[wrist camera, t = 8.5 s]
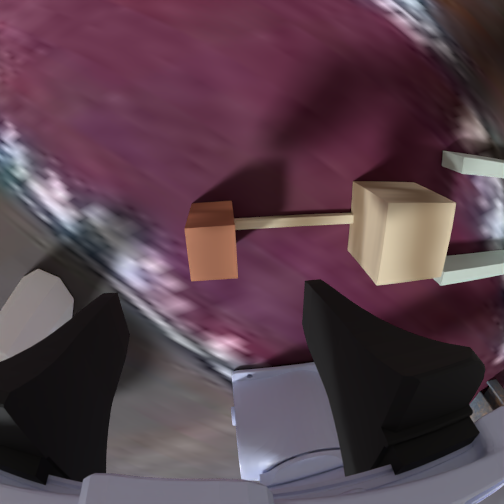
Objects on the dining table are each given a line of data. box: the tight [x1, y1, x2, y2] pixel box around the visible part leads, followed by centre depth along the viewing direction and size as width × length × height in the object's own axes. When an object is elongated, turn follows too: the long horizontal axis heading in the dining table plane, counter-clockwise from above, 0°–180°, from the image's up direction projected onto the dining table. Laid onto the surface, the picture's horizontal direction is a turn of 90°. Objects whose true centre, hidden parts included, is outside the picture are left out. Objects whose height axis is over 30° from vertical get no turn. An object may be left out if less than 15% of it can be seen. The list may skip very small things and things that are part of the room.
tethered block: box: [185, 181, 456, 285], centre depth 19 cm, size 16×5×5 cm, turn 92°
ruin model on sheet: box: [470, 379, 504, 422], centre depth 32 cm, size 11×3×10 cm, turn 168°
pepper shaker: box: [0, 269, 74, 362], centre depth 16 cm, size 5×5×11 cm
